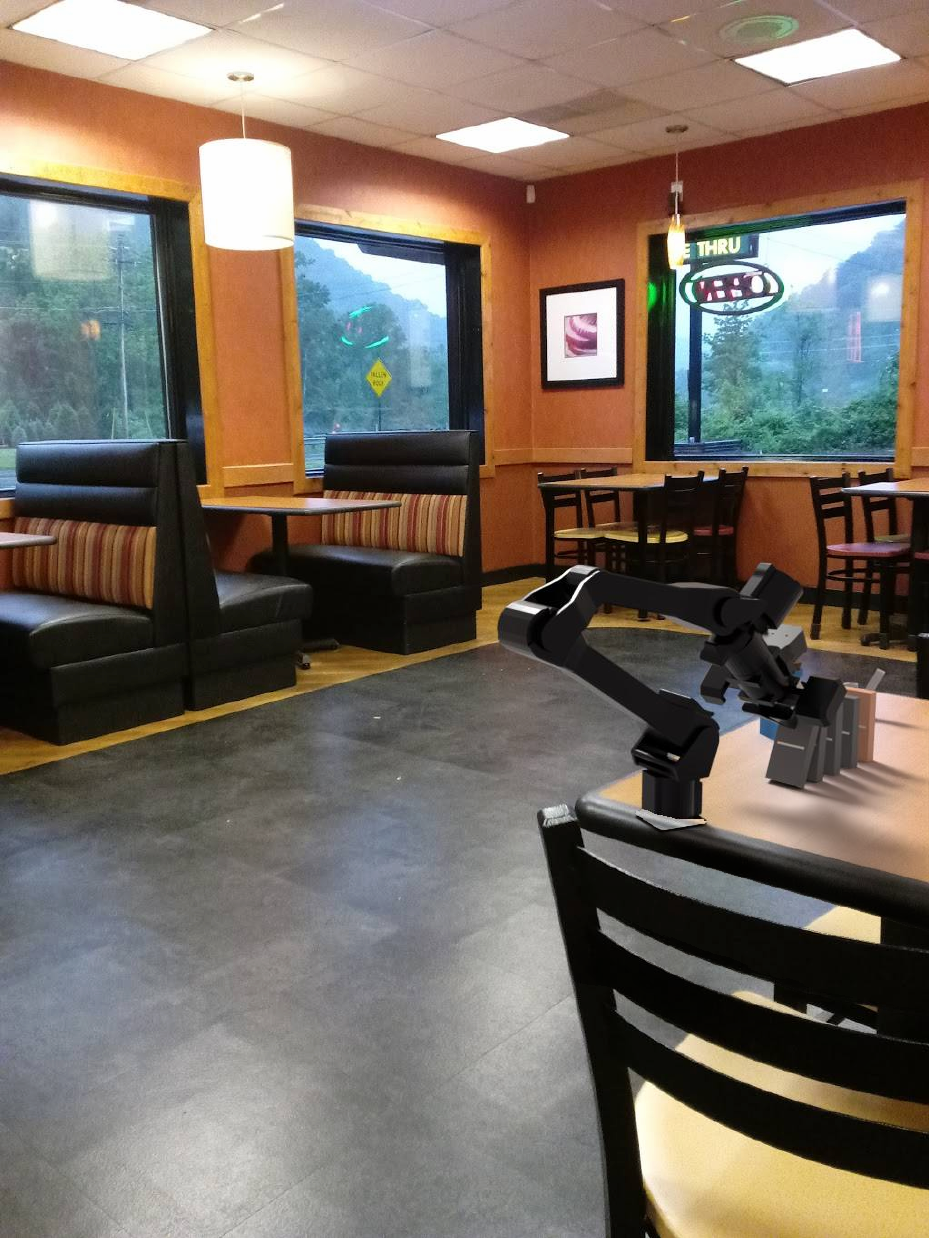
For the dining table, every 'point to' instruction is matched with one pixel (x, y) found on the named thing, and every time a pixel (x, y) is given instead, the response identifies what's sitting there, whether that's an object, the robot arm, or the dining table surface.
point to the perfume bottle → (770, 727)
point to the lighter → (872, 683)
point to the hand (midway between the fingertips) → (793, 725)
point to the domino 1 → (792, 754)
